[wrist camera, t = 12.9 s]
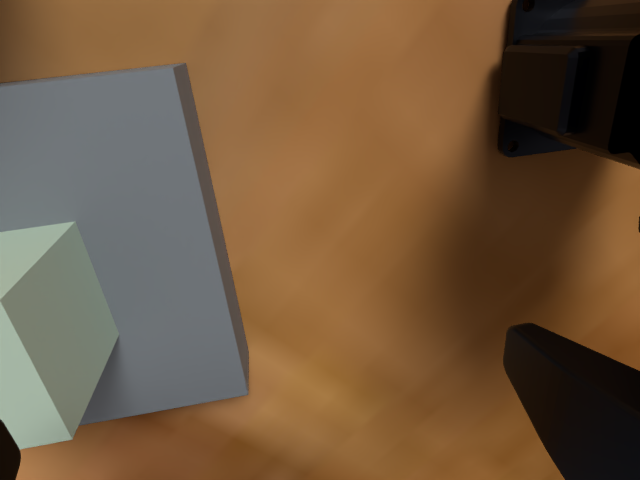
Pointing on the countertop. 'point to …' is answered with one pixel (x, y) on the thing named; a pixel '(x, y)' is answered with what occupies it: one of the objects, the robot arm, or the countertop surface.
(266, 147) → the countertop surface
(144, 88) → the base
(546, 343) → the robot arm
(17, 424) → the green cube
